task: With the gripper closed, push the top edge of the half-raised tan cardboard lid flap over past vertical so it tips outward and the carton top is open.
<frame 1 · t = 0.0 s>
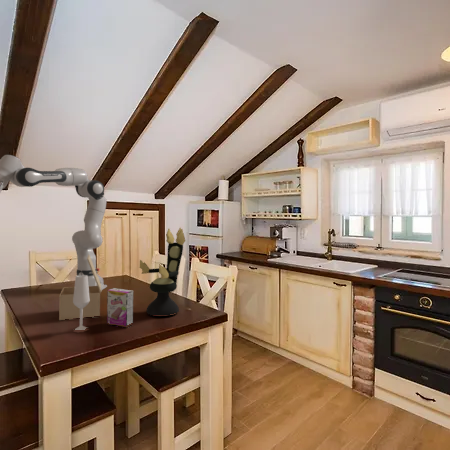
carton flap: (94, 272, 164), point 21 cm above the table, hinge at 70.0°
champagne flute: (81, 330, 140), on the table
black and tan chair: (165, 312, 169), on the table
candy bar box: (119, 325, 148), on the table
carton: (80, 313, 163), on the table
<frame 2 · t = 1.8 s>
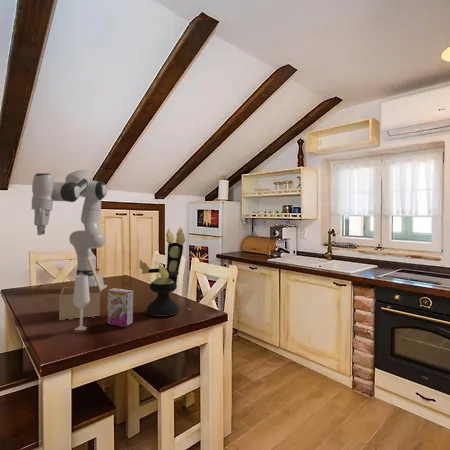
hand: (41, 234, 155), 40 cm above the table, tool pointing down, fingers open, 8 cm apart
nothing on the table moved.
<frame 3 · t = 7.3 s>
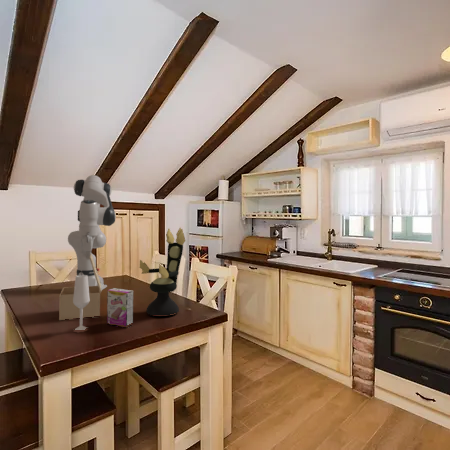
hand: (88, 259, 163), 28 cm above the table, tool pointing down, fingers closed, pressing on carton flap
carton flap: (95, 272, 164), point 21 cm above the table, hinge at 73.7°, touching gripper
everything else where it was.
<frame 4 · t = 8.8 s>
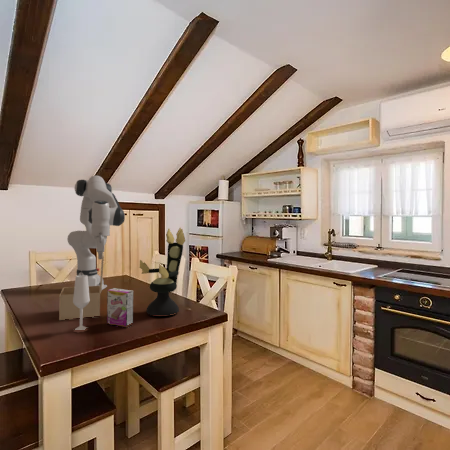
hand: (100, 259, 165), 28 cm above the table, tool pointing down, fingers closed, pressing on carton flap
carton flap: (101, 271, 165), point 21 cm above the table, hinge at 92.6°, touching gripper
everything else where it was.
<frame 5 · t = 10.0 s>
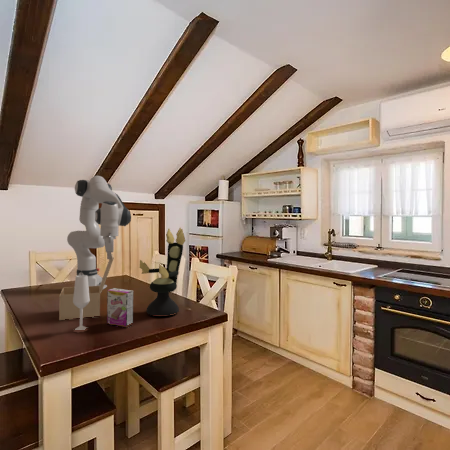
hand: (108, 259, 166), 28 cm above the table, tool pointing down, fingers closed, pressing on carton flap
carton flap: (106, 272, 166), point 21 cm above the table, hinge at 107.9°, touching gripper
everything else where it was.
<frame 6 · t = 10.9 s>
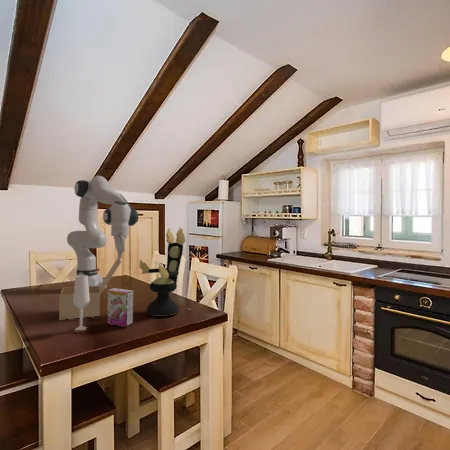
hand: (119, 258, 168), 28 cm above the table, tool pointing down, fingers closed
carton flap: (110, 274, 167), point 20 cm above the table, hinge at 121.0°
everything else where it was.
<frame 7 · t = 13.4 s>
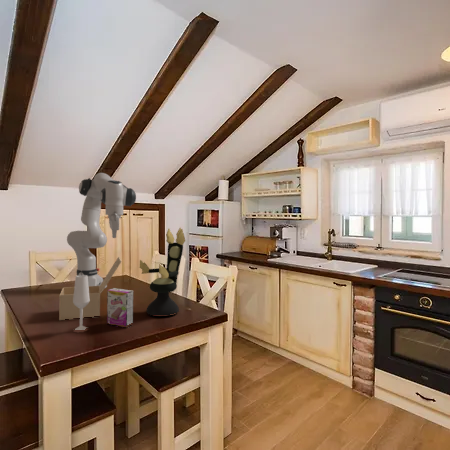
hand: (114, 237, 168), 39 cm above the table, tool pointing down, fingers closed
nothing on the table moved.
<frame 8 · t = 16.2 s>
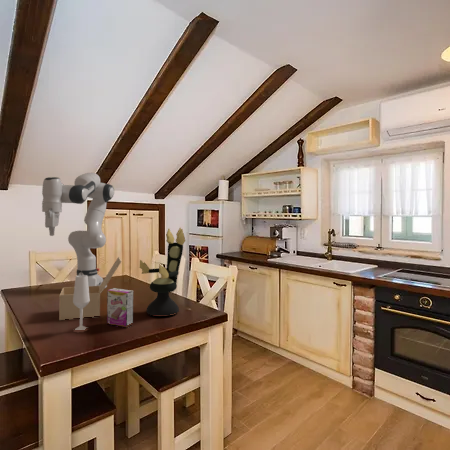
hand: (51, 235, 164), 39 cm above the table, tool pointing down, fingers closed
nothing on the table moved.
at the end: carton flap at +121° (first picture: +70°) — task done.
